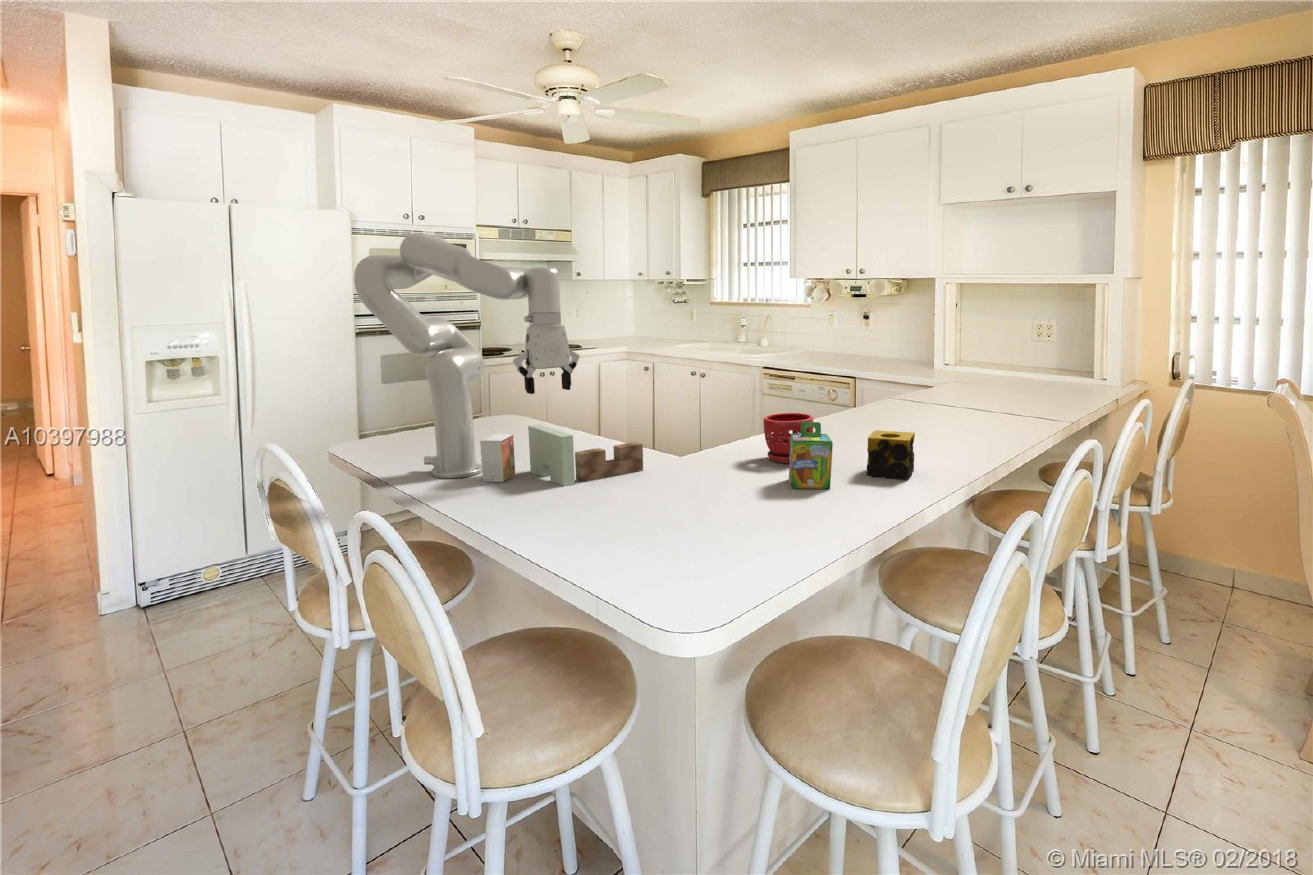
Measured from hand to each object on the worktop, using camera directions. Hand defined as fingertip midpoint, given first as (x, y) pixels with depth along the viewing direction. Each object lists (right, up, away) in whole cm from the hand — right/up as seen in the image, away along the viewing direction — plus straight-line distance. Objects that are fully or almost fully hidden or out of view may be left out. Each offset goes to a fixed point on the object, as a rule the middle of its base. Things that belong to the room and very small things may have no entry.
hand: (548, 391), depth 180 cm
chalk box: (+62, -23, -5) cm, 66 cm away
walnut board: (+15, -21, +6) cm, 26 cm away
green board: (0, -21, +5) cm, 22 cm away
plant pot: (+62, -17, +19) cm, 67 cm away
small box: (-13, -22, +5) cm, 26 cm away
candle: (+84, -21, +3) cm, 87 cm away
